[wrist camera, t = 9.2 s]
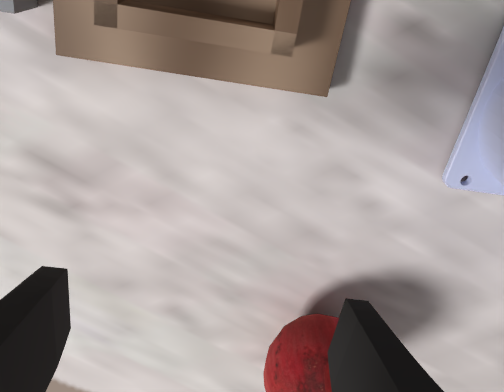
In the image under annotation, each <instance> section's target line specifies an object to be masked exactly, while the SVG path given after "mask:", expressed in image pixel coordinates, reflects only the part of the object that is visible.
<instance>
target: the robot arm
mask: <svg viewBox="0 0 504 392" xmlns="http://www.w3.org/2000/svg"><path fill="white" fill-rule="evenodd" d="M464 176H468V178H467V179H466V180H465V181H463V182H460V180H461V179H462V177H464ZM442 179H443V182H444V183H445V184H446V185H447V186H448V187H450V188H455V189H462V190H469V191H476V192H483V193H490V194H497V195H504V27H503V29H502V32H501V34H500V37H499V39H498V42H497V44H496V46H495V49H494V51H493V54H492V56H491V59H490V61H489V63H488V66H487V68H486V71H485V73H484V76H483V78H482V80H481V83H480V85H479V88H478V90H477V93H476V95H475V98H474V100H473V102H472V105H471V107H470V110H469V112H468V115H467V117H466V119H465V122H464V124H463V127H462V129H461V132H460V134H459V136H458V139H457V141H456V144H455V146H454V149H453V151H452V153H451V156H450V158H449V161H448V163H447V166H446V168H445V171H444V173H443V176H442ZM70 329H71V326H70V308H69V290H68V271H67V269H64V268H54V267H45V266H42V267H41V268H39V269H38V270H37V271H35V272H34V273H33V274H32V275H30V276H29V277H28V278H27V279H25V280H24V281H23V282H22V283H21V284H19V285H18V286H17V287H16V288H14V289H13V290H12V291H11V292H10V293H8V294H7V295H6V296H5V297H3V298H2V299H1V300H0V392H46V389H47V387H48V385H49V383H50V381H51V379H52V377H53V375H54V373H55V371H56V369H57V366H58V364H59V361H60V358H61V355H62V352H63V350H64V347H65V344H66V341H67V338H68V335H69V332H70ZM327 353H328V364H329V374H330V382H331V390H332V392H444V391H443V390H442V389H441V388H440V387H439V386H438V385H437V384H436V383H435V381H434V380H433V379H432V378H431V377H430V376H429V375H428V374H427V372H426V371H425V370H424V369H423V368H422V367H421V366H420V364H419V363H418V362H417V361H416V360H415V358H414V357H413V356H412V355H411V354H410V353H409V351H408V350H407V349H406V348H405V346H404V345H403V344H402V343H401V342H400V340H399V339H398V338H397V337H396V335H395V334H394V333H393V332H392V330H391V329H390V328H389V327H388V325H387V324H386V323H385V321H384V320H383V319H382V318H381V316H380V315H379V314H378V313H377V311H376V310H375V309H374V308H373V306H372V305H371V304H370V303H369V302H368V301H364V300H354V299H346V300H345V302H344V305H343V308H342V311H341V314H340V317H339V320H338V323H337V326H336V329H335V332H334V335H333V338H332V341H331V343H330V346H329V349H328V352H327Z"/></svg>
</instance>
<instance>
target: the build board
mask: <svg viewBox="0 0 504 392" xmlns="http://www.w3.org/2000/svg"><path fill="white" fill-rule="evenodd" d="M350 2H351V0H53V8H54V26H55V44H56V55H60V56H67V57H73V58H79V59H86V60H92V61H99V62H105V63H112V64H118V65H124V66H131V67H137V68H144V69H150V70H156V71H163V72H169V73H176V74H182V75H189V76H195V77H201V78H208V79H214V80H221V81H227V82H234V83H240V84H246V85H253V86H259V87H266V88H272V89H279V90H285V91H291V92H298V93H304V94H311V95H317V96H324V97H327V96H328V92H329V88H330V83H331V79H332V75H333V71H334V67H335V63H336V59H337V55H338V51H339V47H340V43H341V39H342V35H343V30H344V26H345V22H346V18H347V14H348V10H349V6H350Z"/></svg>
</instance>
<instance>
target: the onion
mask: <svg viewBox="0 0 504 392" xmlns="http://www.w3.org/2000/svg"><path fill="white" fill-rule="evenodd" d="M338 320H339V318H337V317H333V316H328V315H322V314H313V315H306V316H302V317H299V318H297V319H296V320H294V321H292V322H291V323H289V324H287V325H285V326H284V327H283V329H282V330H281V332H280V333H279V334H278V336H277V337H276V338H275V340H274V341H273V342H272V344H271V345H270V346H269V350H268V354H267V358H266V363H265V369H264V386H265V389H266V392H332V390H331V382H330V374H329V364H328V353H327V352H328V349H329V346H330V343H331V341H332V338H333V335H334V332H335V329H336V326H337V323H338Z"/></svg>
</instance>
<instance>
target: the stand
mask: <svg viewBox="0 0 504 392" xmlns="http://www.w3.org/2000/svg"><path fill="white" fill-rule="evenodd" d="M37 7H38V4H37V0H0V11H1V12H8V13H14V14H15V13H18V12H22V11H26V10H29V9H33V8H37Z"/></svg>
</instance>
